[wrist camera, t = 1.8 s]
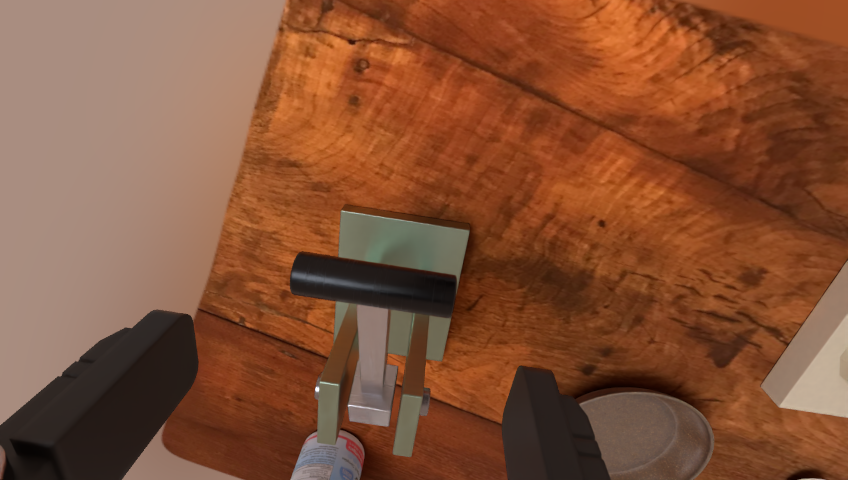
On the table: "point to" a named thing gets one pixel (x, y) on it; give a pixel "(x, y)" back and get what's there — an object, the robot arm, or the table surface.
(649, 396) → the saucer
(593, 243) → the table surface
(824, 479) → the faucet
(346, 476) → the pill bottle
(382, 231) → the bracket
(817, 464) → the table surface
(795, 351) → the button box
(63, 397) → the robot arm
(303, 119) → the table surface
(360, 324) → the tap handle
